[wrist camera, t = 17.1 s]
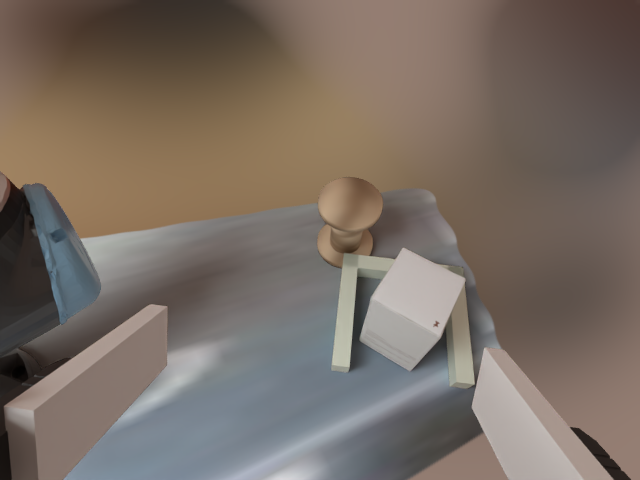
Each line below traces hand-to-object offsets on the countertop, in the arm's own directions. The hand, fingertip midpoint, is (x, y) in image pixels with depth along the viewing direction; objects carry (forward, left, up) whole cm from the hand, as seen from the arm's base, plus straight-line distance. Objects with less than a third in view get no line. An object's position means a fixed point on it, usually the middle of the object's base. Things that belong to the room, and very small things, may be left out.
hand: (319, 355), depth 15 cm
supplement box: (+9, +12, -30) cm, 34 cm away
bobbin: (+1, +25, -30) cm, 38 cm away
